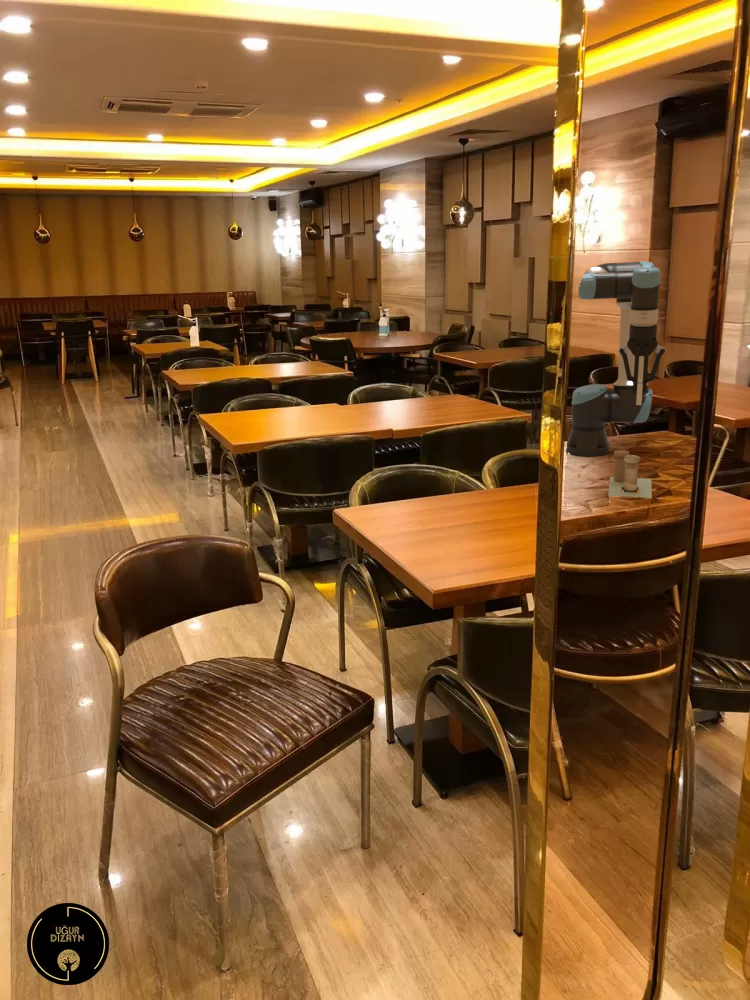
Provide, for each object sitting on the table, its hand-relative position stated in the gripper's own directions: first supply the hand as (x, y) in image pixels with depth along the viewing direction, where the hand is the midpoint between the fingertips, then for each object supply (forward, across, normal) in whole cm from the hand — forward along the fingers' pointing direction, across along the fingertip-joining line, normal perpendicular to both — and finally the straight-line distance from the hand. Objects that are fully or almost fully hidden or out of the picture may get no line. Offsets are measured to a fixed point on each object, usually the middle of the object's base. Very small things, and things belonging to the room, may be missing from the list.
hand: (638, 403), depth 242 cm
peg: (+27, -1, -12) cm, 30 cm away
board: (+27, -1, -10) cm, 29 cm away
